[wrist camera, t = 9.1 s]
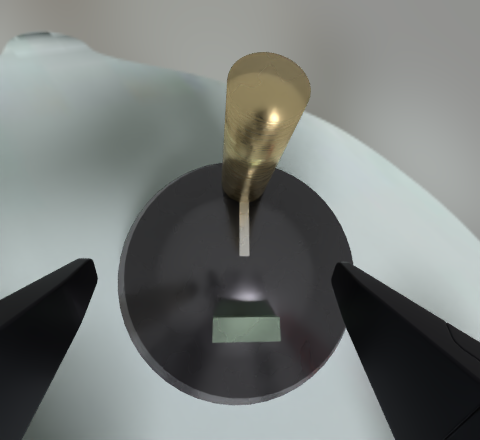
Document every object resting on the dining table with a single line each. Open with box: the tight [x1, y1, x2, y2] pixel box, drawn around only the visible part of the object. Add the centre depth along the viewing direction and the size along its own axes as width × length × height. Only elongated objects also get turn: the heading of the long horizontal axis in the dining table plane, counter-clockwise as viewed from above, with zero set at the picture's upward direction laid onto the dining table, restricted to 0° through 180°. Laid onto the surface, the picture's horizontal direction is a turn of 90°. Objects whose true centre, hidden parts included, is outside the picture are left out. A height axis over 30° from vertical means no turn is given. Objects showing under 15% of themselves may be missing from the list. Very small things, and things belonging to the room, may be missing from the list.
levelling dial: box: [124, 52, 353, 399], centre depth 11 cm, size 14×14×10 cm
